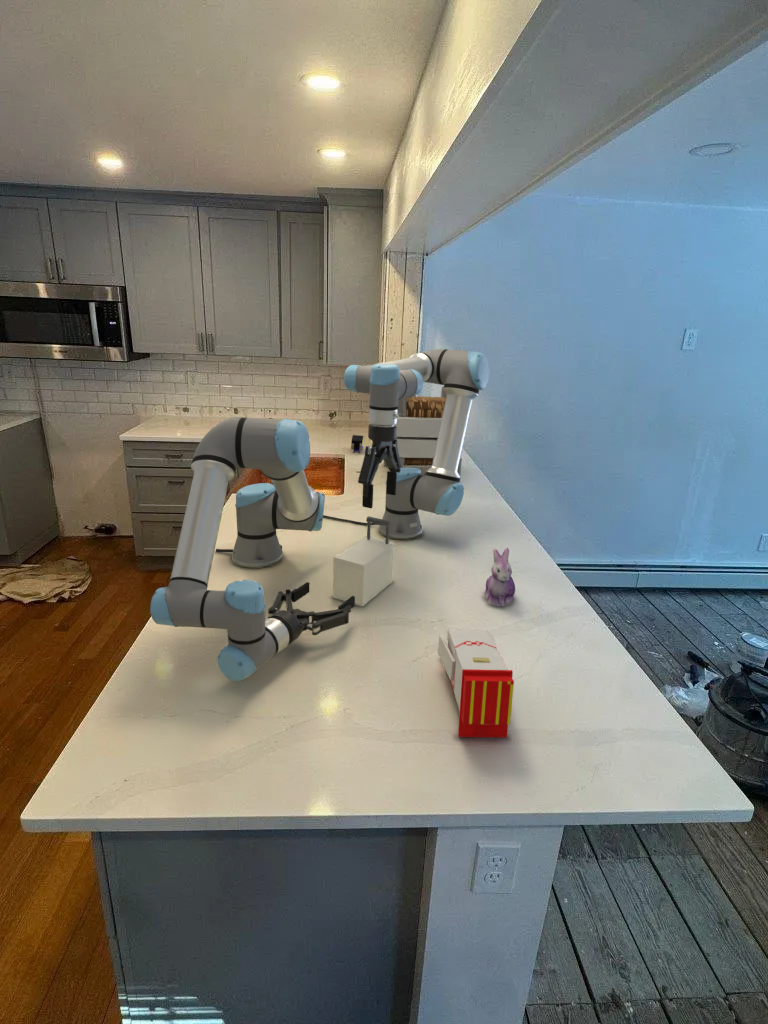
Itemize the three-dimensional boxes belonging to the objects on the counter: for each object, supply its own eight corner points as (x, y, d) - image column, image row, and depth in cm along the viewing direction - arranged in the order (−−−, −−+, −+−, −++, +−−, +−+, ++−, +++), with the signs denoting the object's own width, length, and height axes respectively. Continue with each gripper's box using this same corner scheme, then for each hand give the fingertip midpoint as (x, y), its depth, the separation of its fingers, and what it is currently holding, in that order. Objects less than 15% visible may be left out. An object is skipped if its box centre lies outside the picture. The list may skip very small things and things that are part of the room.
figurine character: (362, 456, 306) (363, 447, 319) (363, 443, 302) (363, 434, 316) (350, 456, 306) (351, 446, 319) (350, 442, 302) (351, 433, 316)
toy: (488, 613, 130) (523, 677, 101) (484, 667, 133) (517, 744, 104) (435, 612, 130) (455, 676, 101) (432, 666, 133) (451, 743, 103)
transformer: (382, 463, 289) (386, 382, 275) (445, 464, 293) (451, 384, 279) (390, 482, 257) (394, 392, 243) (460, 483, 261) (468, 394, 247)
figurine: (497, 611, 151) (503, 559, 146) (474, 594, 159) (479, 545, 154) (524, 604, 155) (532, 554, 150) (501, 588, 163) (507, 540, 158)
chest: (364, 574, 169) (365, 540, 165) (392, 581, 165) (394, 547, 161) (332, 597, 154) (333, 561, 151) (362, 606, 150) (363, 569, 147)
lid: (367, 539, 166) (367, 513, 163) (395, 546, 162) (396, 520, 159) (333, 561, 151) (333, 532, 148) (363, 569, 147) (364, 540, 144)
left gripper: (235, 630, 132) (290, 594, 150) (324, 664, 121) (372, 620, 139) (233, 602, 129) (290, 568, 147) (324, 634, 119) (374, 593, 136)
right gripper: (372, 434, 138) (369, 516, 145) (415, 419, 159) (411, 491, 166) (345, 430, 141) (344, 510, 148) (391, 416, 162) (388, 487, 169)
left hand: (330, 593), depth 143 cm, fingers open, 13 cm apart
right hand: (379, 500), depth 157 cm, fingers open, 13 cm apart
